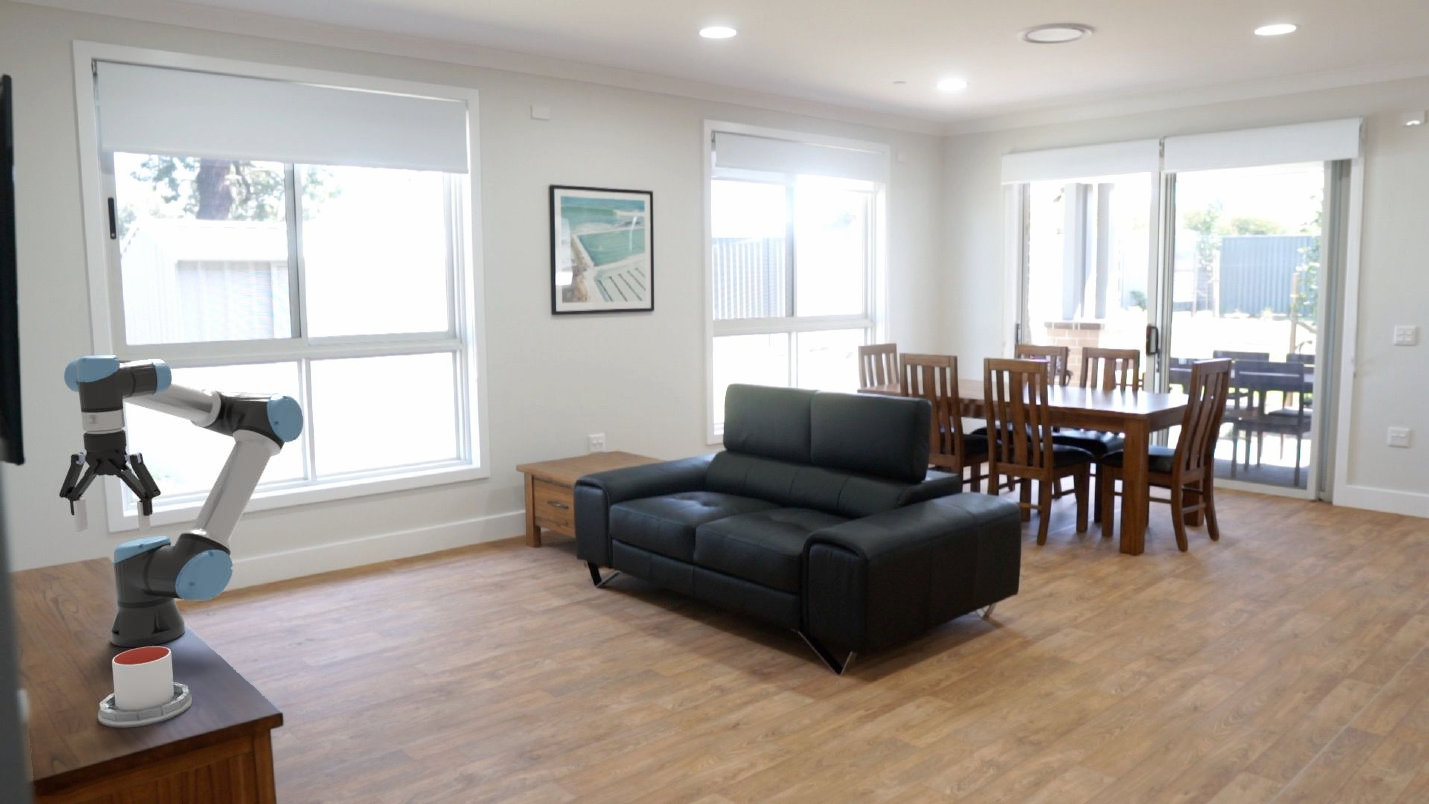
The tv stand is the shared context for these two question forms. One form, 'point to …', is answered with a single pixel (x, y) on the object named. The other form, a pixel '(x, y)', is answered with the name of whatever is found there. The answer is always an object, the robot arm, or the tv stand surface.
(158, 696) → the cup
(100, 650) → the tv stand surface
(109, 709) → the faceted steel dish
